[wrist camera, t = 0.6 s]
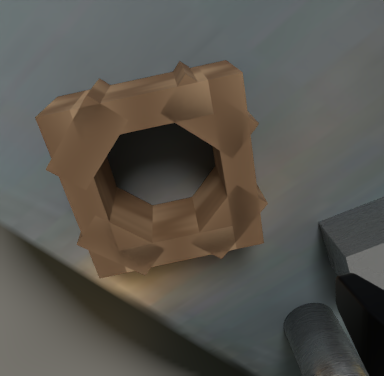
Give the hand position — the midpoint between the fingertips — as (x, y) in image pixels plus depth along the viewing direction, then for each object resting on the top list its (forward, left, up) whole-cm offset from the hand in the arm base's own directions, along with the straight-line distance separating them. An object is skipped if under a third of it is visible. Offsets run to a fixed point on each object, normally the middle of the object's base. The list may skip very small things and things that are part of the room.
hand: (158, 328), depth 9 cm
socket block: (0, +1, -13) cm, 13 cm away
